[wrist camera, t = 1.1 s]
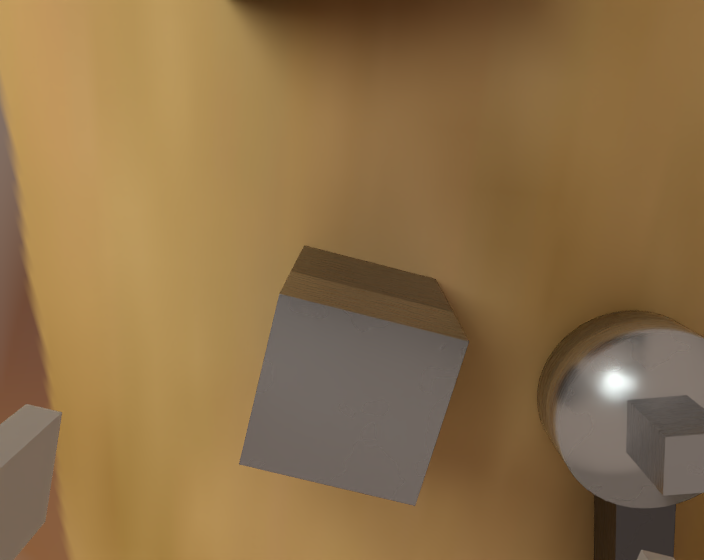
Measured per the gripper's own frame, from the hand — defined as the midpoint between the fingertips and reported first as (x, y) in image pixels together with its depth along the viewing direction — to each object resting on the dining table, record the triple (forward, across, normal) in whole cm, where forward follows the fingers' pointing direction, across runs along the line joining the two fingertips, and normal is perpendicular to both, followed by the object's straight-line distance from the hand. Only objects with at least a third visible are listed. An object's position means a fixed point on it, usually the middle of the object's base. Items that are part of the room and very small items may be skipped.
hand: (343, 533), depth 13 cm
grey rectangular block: (+14, 0, 0) cm, 14 cm away
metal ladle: (+14, +15, -5) cm, 21 cm away
